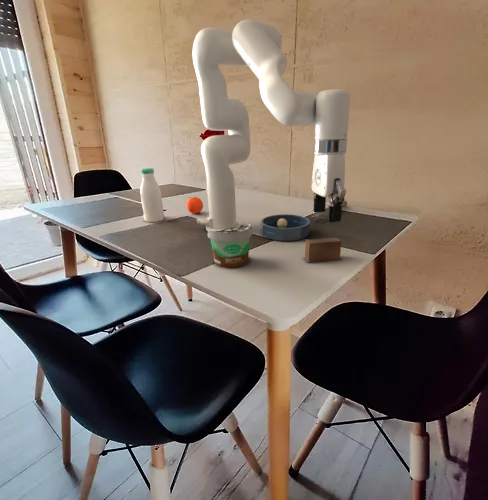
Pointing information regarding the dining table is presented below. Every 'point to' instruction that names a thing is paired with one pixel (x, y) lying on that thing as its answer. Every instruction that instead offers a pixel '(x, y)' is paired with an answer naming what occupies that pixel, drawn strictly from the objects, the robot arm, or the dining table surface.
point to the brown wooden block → (322, 249)
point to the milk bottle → (151, 197)
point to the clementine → (194, 205)
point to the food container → (230, 246)
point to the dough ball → (282, 223)
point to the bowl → (294, 230)
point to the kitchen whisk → (328, 207)
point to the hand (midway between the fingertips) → (326, 216)
